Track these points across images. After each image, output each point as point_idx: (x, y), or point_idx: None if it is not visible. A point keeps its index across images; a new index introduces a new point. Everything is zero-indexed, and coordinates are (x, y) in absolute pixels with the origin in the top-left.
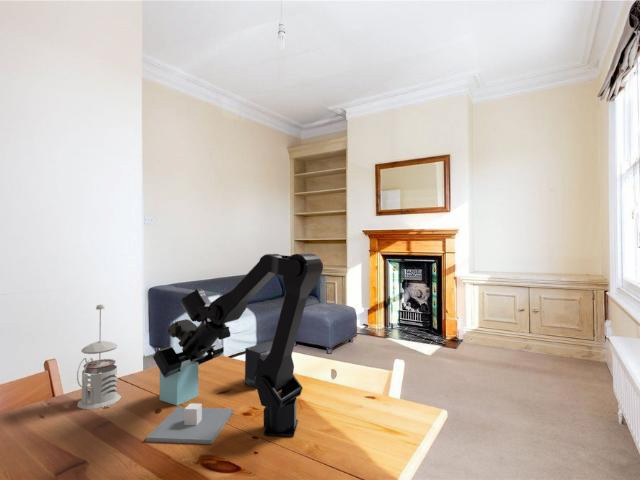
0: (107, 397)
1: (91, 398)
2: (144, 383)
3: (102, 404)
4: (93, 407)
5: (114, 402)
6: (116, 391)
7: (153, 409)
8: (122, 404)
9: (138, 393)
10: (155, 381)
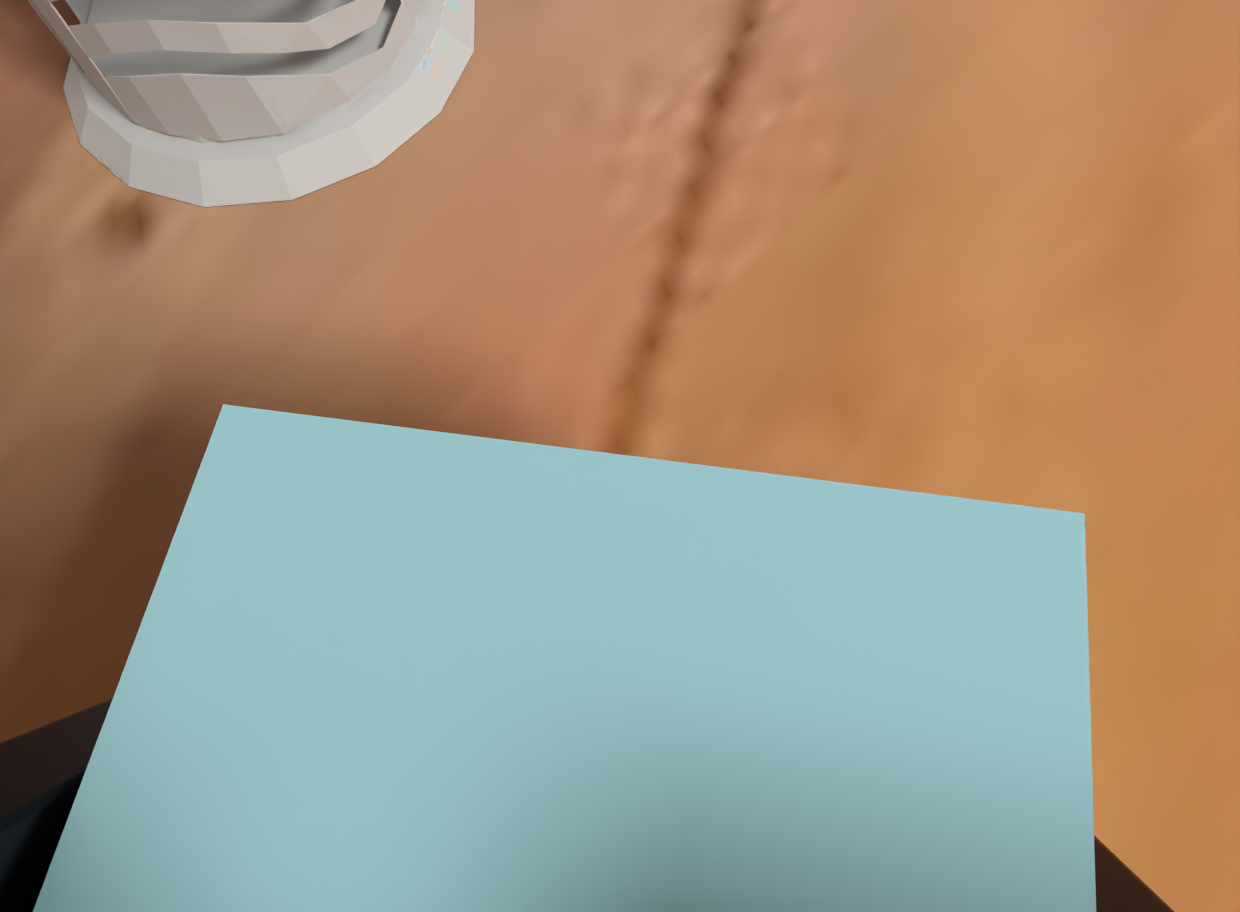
0: (173, 109)
1: (44, 22)
2: (837, 66)
3: (133, 154)
4: (82, 127)
5: (252, 199)
6: (373, 52)
7: None
8: (231, 311)
9: (557, 230)
10: (956, 127)
